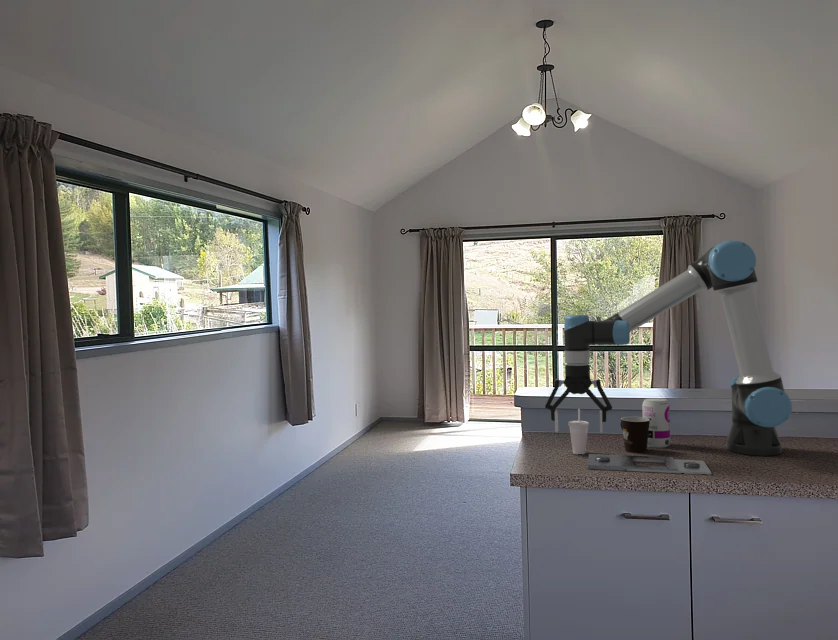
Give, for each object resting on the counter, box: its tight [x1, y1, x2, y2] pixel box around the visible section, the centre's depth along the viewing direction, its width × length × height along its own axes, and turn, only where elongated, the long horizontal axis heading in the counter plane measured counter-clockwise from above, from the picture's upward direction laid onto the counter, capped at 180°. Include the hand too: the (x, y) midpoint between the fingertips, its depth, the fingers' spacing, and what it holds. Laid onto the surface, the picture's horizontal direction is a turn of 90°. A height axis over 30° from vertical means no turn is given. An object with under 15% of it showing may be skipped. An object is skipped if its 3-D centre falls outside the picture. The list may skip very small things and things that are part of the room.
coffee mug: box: [620, 416, 650, 454], centre depth 194 cm, size 12×9×10 cm
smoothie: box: [568, 408, 590, 455], centre depth 191 cm, size 6×6×14 cm
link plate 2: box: [625, 458, 713, 476], centre depth 173 cm, size 22×13×1 cm, turn 73°
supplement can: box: [641, 397, 671, 449], centre depth 199 cm, size 8×8×15 cm
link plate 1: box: [587, 453, 678, 472], centre depth 176 cm, size 24×13×2 cm, turn 73°
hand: (578, 431), depth 191 cm, fingers open, 13 cm apart
